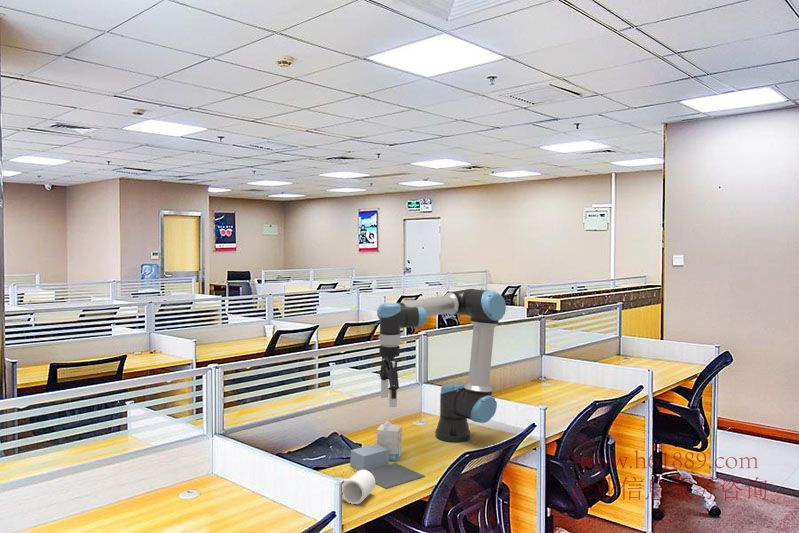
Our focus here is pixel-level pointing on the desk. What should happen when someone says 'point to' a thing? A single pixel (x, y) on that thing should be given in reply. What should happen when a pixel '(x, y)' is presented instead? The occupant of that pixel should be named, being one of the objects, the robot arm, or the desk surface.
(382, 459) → the step
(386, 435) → the ink box
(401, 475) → the mat
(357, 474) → the mug
